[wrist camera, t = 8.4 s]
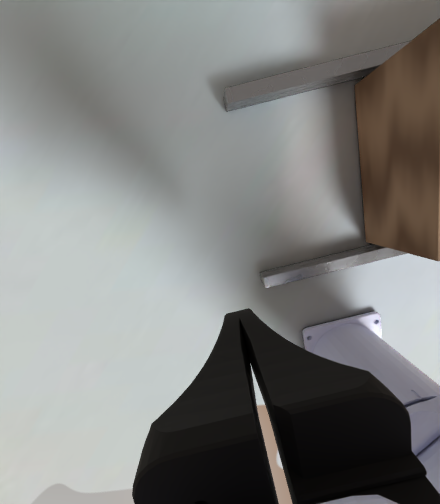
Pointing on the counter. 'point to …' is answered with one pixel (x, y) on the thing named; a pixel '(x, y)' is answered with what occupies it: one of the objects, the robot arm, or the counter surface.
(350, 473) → the robot arm
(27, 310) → the counter surface
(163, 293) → the counter surface
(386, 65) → the housing
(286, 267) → the guide rails
